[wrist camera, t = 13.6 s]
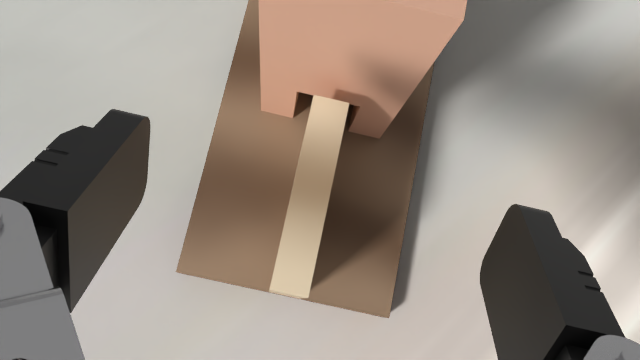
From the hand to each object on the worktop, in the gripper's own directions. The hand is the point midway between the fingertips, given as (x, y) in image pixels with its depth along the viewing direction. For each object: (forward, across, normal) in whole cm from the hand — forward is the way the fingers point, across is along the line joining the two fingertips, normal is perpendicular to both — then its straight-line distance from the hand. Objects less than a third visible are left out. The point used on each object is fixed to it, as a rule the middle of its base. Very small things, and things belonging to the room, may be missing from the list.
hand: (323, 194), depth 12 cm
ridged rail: (+16, 0, +5) cm, 17 cm away
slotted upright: (+15, 0, +4) cm, 16 cm away
